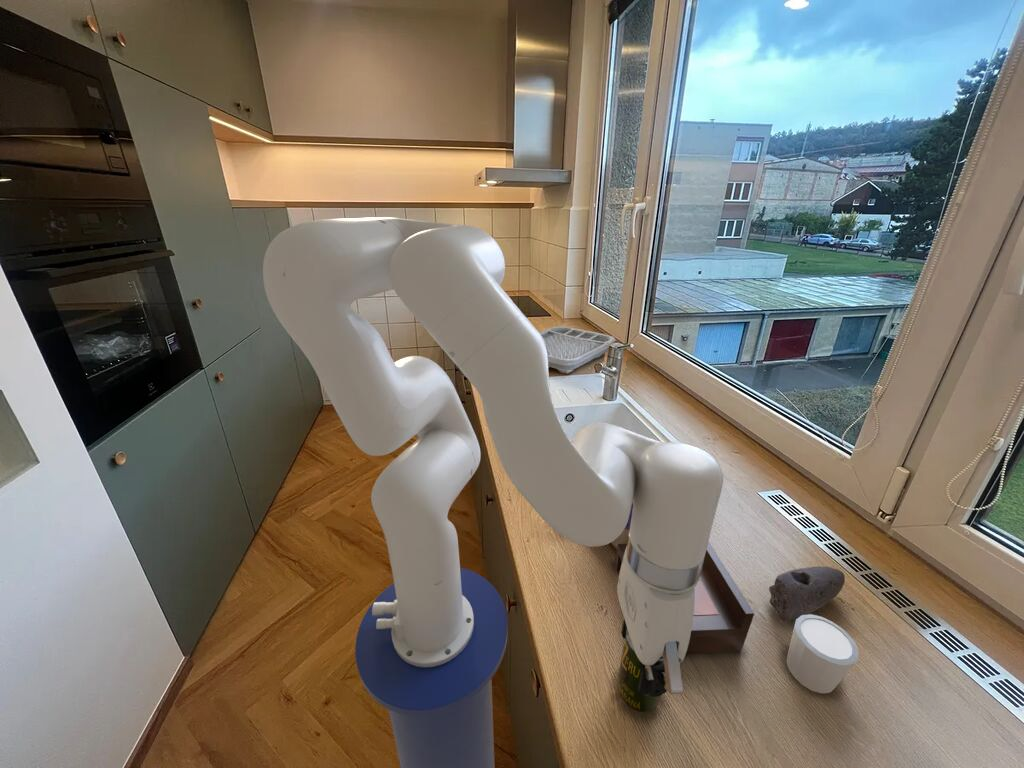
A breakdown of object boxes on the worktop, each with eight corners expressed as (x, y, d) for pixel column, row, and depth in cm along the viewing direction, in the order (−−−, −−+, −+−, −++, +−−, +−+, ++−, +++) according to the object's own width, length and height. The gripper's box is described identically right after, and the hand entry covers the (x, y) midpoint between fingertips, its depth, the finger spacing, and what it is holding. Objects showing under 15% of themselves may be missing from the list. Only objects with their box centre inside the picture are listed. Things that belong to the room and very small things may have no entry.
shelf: (645, 656, 58) (652, 617, 55) (614, 564, 73) (619, 530, 70) (741, 651, 59) (754, 613, 55) (692, 562, 73) (700, 527, 70)
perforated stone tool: (821, 579, 70) (834, 548, 67) (852, 605, 65) (868, 573, 63) (752, 603, 66) (763, 571, 63) (781, 633, 61) (793, 600, 58)
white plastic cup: (779, 638, 60) (792, 605, 58) (836, 660, 58) (853, 627, 55) (782, 682, 55) (797, 648, 52) (845, 709, 52) (865, 675, 49)
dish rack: (504, 362, 166) (504, 343, 162) (556, 340, 191) (557, 324, 188) (570, 382, 147) (572, 361, 144) (618, 355, 172) (620, 337, 169)
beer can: (632, 662, 57) (644, 604, 52) (667, 695, 53) (683, 636, 48) (607, 688, 54) (617, 629, 49) (642, 726, 50) (657, 666, 45)
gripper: (607, 501, 51) (596, 601, 58) (658, 633, 35) (634, 748, 43) (666, 499, 51) (647, 599, 59) (743, 630, 36) (704, 744, 43)
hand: (642, 661), depth 51 cm, fingers open, 5 cm apart
